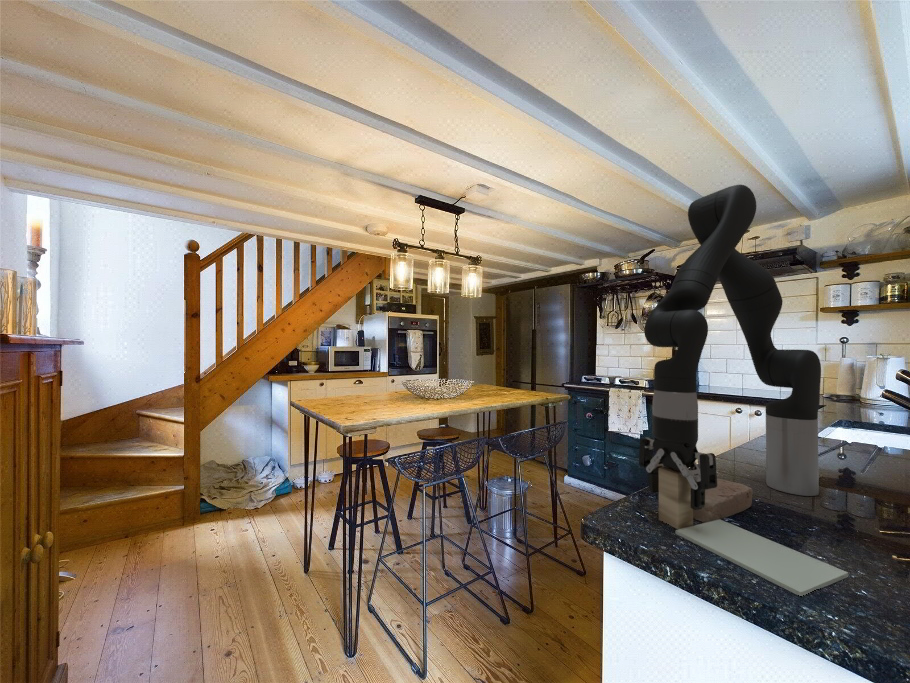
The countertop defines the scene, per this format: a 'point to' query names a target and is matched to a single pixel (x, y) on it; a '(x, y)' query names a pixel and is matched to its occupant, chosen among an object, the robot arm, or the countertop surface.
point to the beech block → (674, 498)
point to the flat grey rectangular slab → (764, 557)
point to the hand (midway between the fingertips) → (674, 499)
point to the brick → (724, 501)
